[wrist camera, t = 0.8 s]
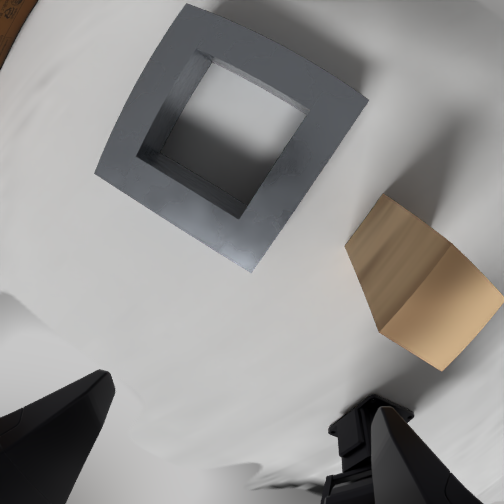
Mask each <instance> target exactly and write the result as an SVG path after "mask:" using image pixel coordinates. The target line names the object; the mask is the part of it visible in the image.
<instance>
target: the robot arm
mask: <svg viewBox="0 0 504 504" xmlns="http://www.w3.org/2000/svg"><path fill="white" fill-rule="evenodd" d="M114 395H115V386H114V383H113V380H112V376H111V374H110V373H109V372H108V371H104V370H101V369H99V370H97V371H95V372H93V373H91V374H89V375H87V376H85V377H83V378H81V379H80V380H77V381H75V382H73V383H71V384H69V385H67V386H65V387H63V388H61V389H59V390H57V391H55V392H53V393H51V394H49V395H47V396H45V397H43V398H42V399H39V400H37V401H35V402H33V403H31V404H29V405H27V406H25V407H24V408H21V409H19V410H16V411H14V412H12V413H10V414H8V415H5V416H3V417H0V504H65V503H66V501H67V499H68V497H69V495H70V493H71V491H72V488H73V486H74V484H75V482H76V480H77V478H78V476H79V474H80V472H81V469H82V467H83V465H84V463H85V461H86V459H87V457H88V455H89V453H90V451H91V449H92V447H93V445H94V443H95V441H96V438H97V437H98V435H99V433H100V431H101V429H102V427H103V424H104V422H105V419H106V416H107V413H108V411H109V408H110V405H111V402H112V400H113V397H114ZM372 399H373V400H372ZM413 418H414V413H413V412H412V411H410V410H408V409H406V408H403V407H401V406H399V405H397V404H395V403H392V402H390V401H388V400H386V399H384V398H382V397H380V396H378V395H375V394H372V395H370V396H368V397H367V398H366V399H365V400H364V401H362V402H361V403H360V404H359V405H358V406H356V407H355V408H354V409H353V410H352V411H350V412H349V413H348V414H347V415H345V416H344V417H343V418H341V419H340V420H339V421H338V422H336V423H335V424H334V425H332V426H331V427H330V428H329V429H328V433H329V434H330V435H333V436H335V437H338V446H339V456H340V457H342V472H343V473H340V474H337V475H329V476H327V477H326V482H325V485H324V490H323V495H322V500H321V504H483V503H482V502H481V501H480V500H479V499H477V498H476V497H475V496H474V495H473V494H472V493H471V492H470V491H469V490H467V489H466V488H465V487H464V486H463V484H462V483H461V482H460V481H459V480H458V479H457V478H456V477H455V476H454V475H453V474H452V473H450V471H449V469H448V468H447V467H446V466H445V465H444V464H443V463H442V462H441V460H440V459H439V458H438V457H437V456H436V455H435V454H434V453H433V452H432V450H431V449H430V448H429V447H428V446H427V445H426V444H425V443H424V442H423V440H422V439H421V438H420V437H419V436H418V435H417V434H416V433H415V432H414V430H413V429H412V428H411V427H410V426H409V425H408V424H407V423H408V422H409V421H410V420H411V419H413Z"/></svg>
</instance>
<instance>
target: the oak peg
mask: <svg viewBox="0 0 504 504" xmlns="http://www.w3.org/2000/svg"><path fill="white" fill-rule="evenodd" d="M345 249H346V251H347V253H348V256H349V258H350V260H351V263H352V265H353V267H354V270H355V272H356V275H357V277H358V280H359V282H360V284H361V287H362V289H363V292H364V295H365V297H366V300H367V302H368V305H369V307H370V310H371V313H372V315H373V318H374V321H375V323H376V326H377V329H378V331H379V333H381V334H382V335H384V336H385V337H387V338H389V339H390V340H392V341H393V342H395V343H397V344H398V345H400V346H401V347H403V348H405V349H406V350H408V351H409V352H411V353H413V354H414V355H416V356H417V357H419V358H421V359H422V360H424V361H425V362H427V363H429V364H430V365H432V366H433V367H435V368H437V369H438V370H440V371H443V370H444V369H445V368H446V367H447V366H448V365H449V364H450V363H451V362H452V361H453V360H454V359H455V358H456V357H457V356H458V355H459V354H460V353H461V352H462V351H463V350H464V349H465V347H466V346H467V345H468V344H469V343H470V342H471V341H472V340H473V339H474V338H475V336H476V335H477V334H478V333H479V332H480V331H481V330H482V328H483V327H484V326H485V325H486V324H487V323H488V321H489V320H490V319H491V318H492V317H493V315H494V314H495V313H496V312H497V310H498V309H499V308H500V307H501V305H502V304H503V303H504V296H503V295H502V294H501V293H500V292H499V291H498V290H497V289H496V287H495V286H494V285H493V284H492V283H491V282H490V281H489V280H488V279H487V278H486V277H485V276H484V275H483V274H482V273H481V272H480V271H479V270H478V268H477V267H476V266H475V265H474V264H473V263H472V262H471V261H470V260H469V259H468V258H467V257H466V256H465V255H463V254H462V253H461V252H460V251H459V250H458V249H457V248H456V247H455V246H454V245H453V244H452V243H451V242H449V241H448V240H447V239H446V238H444V237H443V236H442V235H440V234H439V233H438V232H437V231H435V230H434V229H433V228H431V227H430V226H429V225H427V224H426V223H425V222H423V221H422V220H420V219H419V218H418V217H416V216H415V215H414V214H412V213H411V212H409V211H408V210H407V209H405V208H404V207H402V206H401V205H399V204H398V203H397V202H395V201H394V200H392V199H391V198H389V197H388V196H386V195H385V194H382V196H381V197H380V198H379V200H378V201H377V203H376V204H375V205H374V207H373V208H372V210H371V211H370V212H369V214H368V215H367V217H366V218H365V219H364V221H363V222H362V223H361V225H360V226H359V228H358V229H357V230H356V232H355V233H354V234H353V236H352V237H351V238H350V240H349V241H348V242H347V244H346V245H345Z"/></svg>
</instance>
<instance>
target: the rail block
mask: <svg viewBox="0 0 504 504" xmlns="http://www.w3.org/2000/svg"><path fill="white" fill-rule="evenodd" d="M212 62H213V63H215V64H217V65H220V66H222V67H224V68H226V69H227V70H229V71H231V72H233V73H235V74H237V75H239V76H241V77H243V78H245V79H247V80H248V81H250V82H252V83H254V84H256V85H258V86H259V87H261V88H263V89H265V90H266V91H268V92H270V93H272V94H273V95H275V96H277V97H279V98H280V99H282V100H284V101H285V102H287V103H289V104H290V105H292V106H294V107H295V108H297V109H298V110H300V111H302V112H303V113H305V114H306V115H307V116H306V117H305V119H304V120H303V122H302V123H301V125H300V126H299V128H298V129H297V131H296V132H295V134H294V135H293V137H292V138H291V140H290V141H289V143H288V144H287V146H286V148H285V149H284V151H283V152H282V154H281V155H280V157H279V158H278V160H277V161H276V163H275V164H274V166H273V167H272V169H271V171H270V172H269V174H268V175H267V177H266V178H265V180H264V181H263V183H262V185H261V186H260V188H259V189H258V191H257V192H256V194H255V195H254V197H253V199H252V200H251V202H250V203H249V205H248V206H247V205H245V204H244V203H242V202H240V201H239V200H237V199H236V198H234V197H232V196H231V195H229V194H228V193H226V192H224V191H223V190H221V189H219V188H218V187H216V186H215V185H213V184H211V183H210V182H208V181H206V180H205V179H203V178H201V177H200V176H198V175H197V174H195V173H193V172H192V171H190V170H188V169H187V168H185V167H183V166H182V165H180V164H178V163H177V162H175V161H173V160H172V159H170V158H168V157H166V156H165V155H163V154H161V153H160V151H161V149H162V147H163V145H164V143H165V141H166V139H167V137H168V136H169V134H170V132H171V130H172V128H173V126H174V125H175V123H176V121H177V119H178V117H179V116H180V114H181V112H182V110H183V109H184V107H185V105H186V103H187V102H188V100H189V98H190V97H191V95H192V93H193V92H194V90H195V88H196V87H197V85H198V83H199V82H200V80H201V79H202V77H203V75H204V74H205V72H206V71H207V69H208V67H209V66H210V64H211V63H212ZM368 101H369V100H368V99H367V98H366V97H364V96H363V95H361V94H360V93H359V92H357V91H356V90H354V89H353V88H351V87H350V86H348V85H347V84H345V83H344V82H342V81H341V80H339V79H338V78H336V77H335V76H333V75H332V74H330V73H329V72H327V71H325V70H324V69H322V68H321V67H319V66H317V65H316V64H314V63H312V62H311V61H309V60H307V59H305V58H304V57H302V56H300V55H298V54H297V53H295V52H293V51H291V50H289V49H288V48H286V47H284V46H282V45H280V44H278V43H276V42H274V41H273V40H271V39H269V38H267V37H265V36H263V35H261V34H259V33H256V32H254V31H252V30H250V29H248V28H246V27H244V26H242V25H239V24H237V23H235V22H233V21H230V20H228V19H226V18H223V17H221V16H218V15H216V14H213V13H211V12H208V11H206V10H203V9H201V8H198V7H195V6H192V5H190V4H187V3H186V5H185V6H184V7H183V9H182V10H181V12H180V13H179V14H178V16H177V17H176V19H175V20H174V22H173V23H172V25H171V26H170V28H169V29H168V31H167V32H166V34H165V35H164V37H163V38H162V40H161V42H160V43H159V45H158V46H157V48H156V50H155V51H154V53H153V55H152V56H151V58H150V60H149V61H148V63H147V65H146V67H145V68H144V70H143V72H142V74H141V75H140V77H139V79H138V81H137V83H136V84H135V86H134V88H133V90H132V92H131V94H130V96H129V98H128V100H127V102H126V104H125V105H124V107H123V110H122V112H121V114H120V116H119V118H118V120H117V122H116V124H115V126H114V128H113V130H112V133H111V135H110V137H109V139H108V142H107V144H106V146H105V148H104V151H103V153H102V156H101V158H100V160H99V163H98V165H97V168H96V170H95V173H94V174H96V175H97V176H99V177H100V178H102V179H104V180H105V181H107V182H108V183H110V184H111V185H113V186H114V187H116V188H117V189H119V190H120V191H122V192H124V193H125V194H127V195H128V196H130V197H131V198H133V199H134V200H136V201H138V202H139V203H141V204H142V205H144V206H145V207H147V208H148V209H150V210H152V211H153V212H155V213H156V214H158V215H159V216H161V217H163V218H164V219H166V220H167V221H169V222H170V223H172V224H174V225H175V226H177V227H178V228H180V229H181V230H183V231H185V232H186V233H188V234H189V235H191V236H192V237H194V238H196V239H197V240H199V241H200V242H202V243H204V244H205V245H207V246H208V247H210V248H212V249H213V250H215V251H216V252H218V253H220V254H221V255H223V256H224V257H226V258H228V259H229V260H231V261H232V262H234V263H236V264H237V265H239V266H241V267H242V268H244V269H245V270H247V271H249V272H250V273H252V271H253V270H254V269H255V267H256V266H257V264H258V263H259V261H260V260H261V258H262V257H263V256H264V254H265V253H266V251H267V250H268V248H269V247H270V245H271V244H272V243H273V241H274V240H275V238H276V237H277V235H278V234H279V232H280V231H281V229H282V228H283V227H284V225H285V224H286V222H287V221H288V219H289V218H290V216H291V215H292V213H293V212H294V211H295V209H296V208H297V206H298V205H299V203H300V202H301V200H302V199H303V197H304V196H305V194H306V193H307V192H308V190H309V189H310V187H311V186H312V184H313V183H314V181H315V180H316V178H317V177H318V175H319V174H320V172H321V171H322V169H323V168H324V167H325V165H326V164H327V162H328V161H329V159H330V158H331V156H332V155H333V153H334V152H335V150H336V149H337V147H338V146H339V144H340V143H341V141H342V140H343V138H344V137H345V135H346V134H347V132H348V131H349V130H350V128H351V127H352V125H353V124H354V122H355V121H356V119H357V118H358V116H359V115H360V113H361V112H362V110H363V109H364V107H365V106H366V104H367V103H368Z"/></svg>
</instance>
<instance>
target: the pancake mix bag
mask: <svg viewBox="0 0 504 504" xmlns="http://www.w3.org/2000/svg"><path fill="white" fill-rule="evenodd" d="M37 1H38V0H0V69H1V67H2V65H3V62H4V60H5V58H6V56H7V54H8V52H9V50H10V48H11V46H12V44H13V42H14V40H15V38H16V36H17V34H18V32H19V30H20V28H21V27H22V25H23V23H24V21H25V20H26V18H27V16H28V15H29V13H30V12H31V10H32V8H33V7H34V5H35V4H36V2H37Z"/></svg>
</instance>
